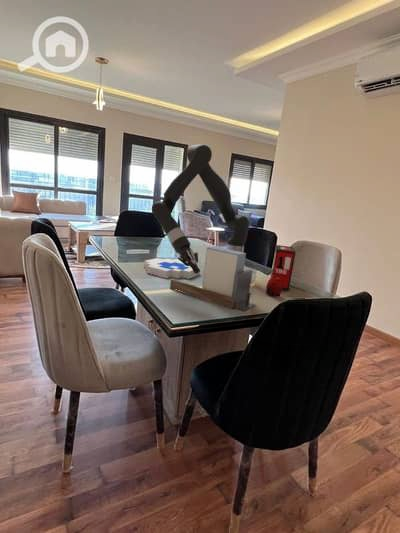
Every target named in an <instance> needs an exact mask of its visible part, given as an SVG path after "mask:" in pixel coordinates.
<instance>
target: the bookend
mask: <svg viewBox="0 0 400 533" xmlns="http://www.w3.org/2000/svg"><path fill="white" fill-rule="evenodd" d="M252 278H253V269H246V270H244V271H243V272H240V273H237V274H235V276H234V283H233V290H232V298H231V305H230V307H229V309H230V310H238V311H241V312H244V313H245V312H247V311H249V310H250V309H252V308H253V307H255V306H256V304H255V303H253V302H247V301H248V295H249V293H250V290H251V284H252V283H251V282H252ZM236 299H238V304H237V308H236V309H235V302H236Z"/></svg>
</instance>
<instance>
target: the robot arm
mask: <svg viewBox="0 0 400 533" xmlns="http://www.w3.org/2000/svg"><path fill="white" fill-rule="evenodd" d="M212 155H213V153H212V149H211V147H209V146H208V145H205V144H193V145H190V146H189V147H188V149H187V153H186V156H187V160H188V162H189V163H188V164H187V166H186V167H185V168H184V169H183V170H182V171H181V172H180V173H179V174H178V175H177V176H176V177H175V178H174V179H173V180H172V181H171V183H169V186H167V188H166V190H165V191H164V194H163V200H162V201H155V202H154V203H153V204H152V206H151V212H152V214H153V217H155V219H156V221H157V222H158V223H159V224H160V226H161V228H162V230H163V232H164V233H165V235H166V236H167V240H168V241H169V243H170V245H171V246H172V248H173V250H174V251H175V253H176V254H178V257H177V259H178V260H180V261H181V262H182V263H184V264H185V265H186V266H190V267H191V268H192V270H193V271H194V273H195V274H197V273H199V272H200V273H201V268H200V267H199V265H198V264H197V263H199V254H198V252H197V251H196V252H194V251H193V249H192V248H191V242H190V240H189V239H188V238H187V236H186V234H185V233H184V230H182V229H181V227H180V225H179V224H178V222H177V221H176V219H175V218H174V217H173V216H172V213H173V211H174V209H175V207H176V205H177V202H178V201H179V199H180V198H181V196H183V193H184V192H185V191H186V189H187V188H188V186H189V185H190V184H192V182H193V180H194V179H195V178H196V177H197V176H199V177H200V179H201V181H202V182H203V184H204V187H205V188H206V190H207V191H208V193H209V195H210V197H211V199H212V200H213V202H214V203H215V204H216V207H217V208H218V210H219V212H220V213H221V215H222V217H223V220H224V222H225V225H226V227H227V228H228V229H229V231H231V232H233V235H232V237H229V238H228V239H227V244H226V249H229V250H234V251H239V252H243V253H244V250H245V243H246V241H247V239H248V235H249V234H248V233H249V229H250V220H249V218H248V217H247V216H245V215H241V214H238V213H237V212H236V211H235V209H234V207H233V206H232V196H231V195H232V194H231V192H230V189H229V187H228V186H227V184H226V182H225V181H224V179H223V178H221V176H220V175H219V174H218V173H217V172H216V171H215V170H214V168H212V166H211V165H210V162H211V159H212V157H213V156H212ZM199 268H200V269H199Z"/></svg>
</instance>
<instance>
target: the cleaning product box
mask: <svg viewBox="0 0 400 533" xmlns="http://www.w3.org/2000/svg"><path fill="white" fill-rule="evenodd" d="M296 253H297V252H296V250H295V248H294V247H293V246H289V245H288V246H286V245H279V244H275V248H274V254H273V260H272V267H271V270H270V271H271V272H270V277H269V279H270V278H271V277H272V276H274V273H273V272H274V268H273V267H274V265H275V268H277V270H276V269H275V276H276V277H277V278H279V279H280V280H281V283H282V290H281V292H288V291H290V287H291V286H290V285H291V279H292V274H293V270H294V263H295V257H296Z"/></svg>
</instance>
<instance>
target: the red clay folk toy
mask: <svg viewBox="0 0 400 533" xmlns="http://www.w3.org/2000/svg"><path fill="white" fill-rule="evenodd" d="M273 268H274V272H273V273H274V276H272V277H271V276H270V277H271V278H270V277H269V279H268V282H267V283H266V285H265V286H266V288H265V294H266V295H268V296H269V297H270V296H271V297H274V298H280V297H281V293H282V283H281V280H280V279H279V278H277V277H276V276H275V269H276V270H277V268H275V265H274V267H273Z"/></svg>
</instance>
